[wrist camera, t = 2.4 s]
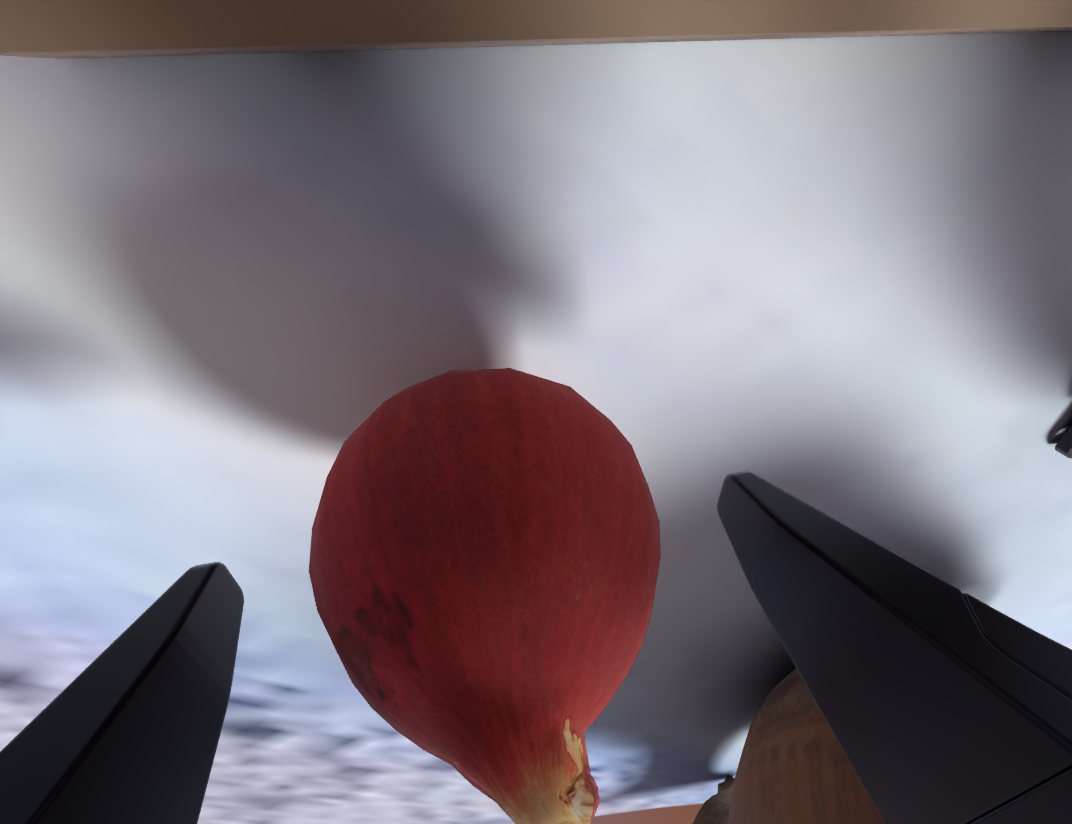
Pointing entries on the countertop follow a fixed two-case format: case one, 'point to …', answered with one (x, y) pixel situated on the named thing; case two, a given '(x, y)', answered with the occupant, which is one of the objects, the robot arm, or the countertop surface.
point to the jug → (791, 769)
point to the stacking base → (479, 23)
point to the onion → (490, 578)
